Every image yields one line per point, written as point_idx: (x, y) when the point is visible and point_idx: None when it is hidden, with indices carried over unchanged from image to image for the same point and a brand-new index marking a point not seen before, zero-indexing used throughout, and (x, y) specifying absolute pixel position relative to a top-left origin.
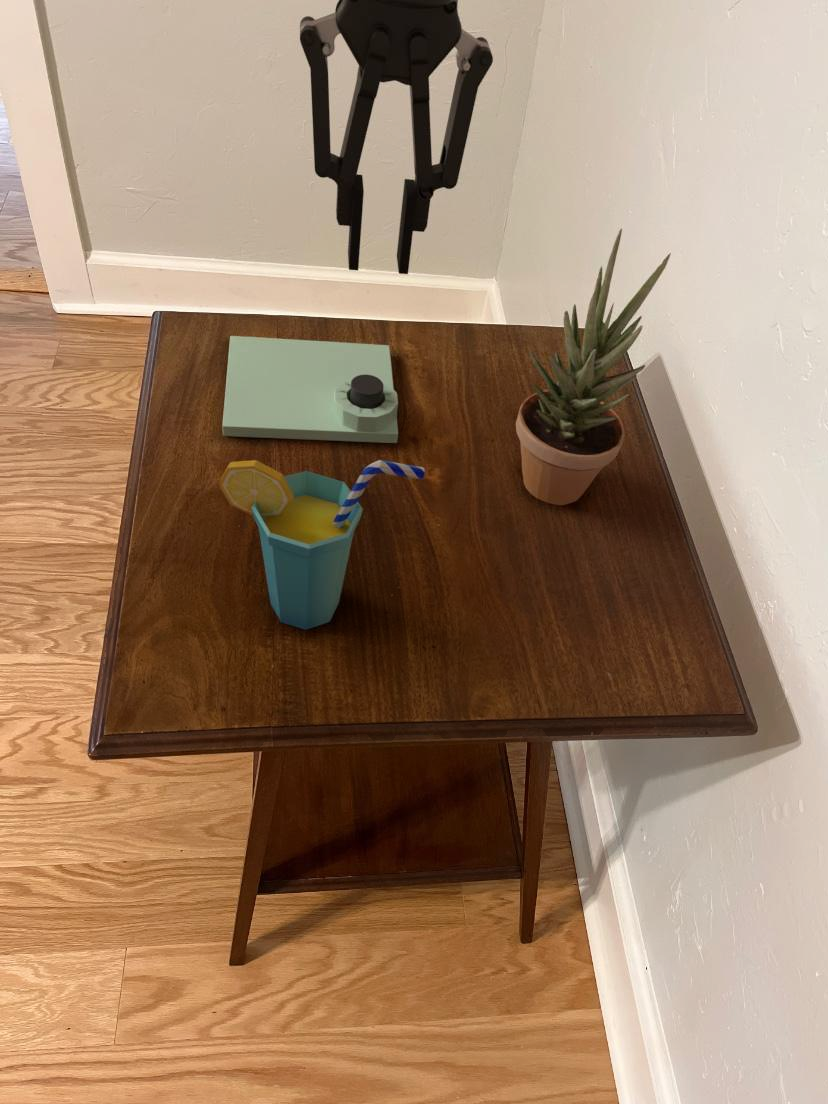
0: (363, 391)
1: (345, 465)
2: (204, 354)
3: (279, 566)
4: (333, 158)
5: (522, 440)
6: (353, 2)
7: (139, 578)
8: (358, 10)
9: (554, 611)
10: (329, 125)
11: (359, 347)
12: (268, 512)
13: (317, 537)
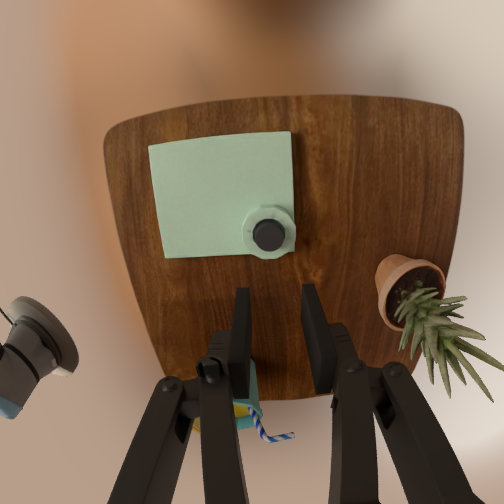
0: (266, 248)
1: (255, 273)
2: (135, 162)
3: None
4: (192, 409)
5: (379, 309)
6: None
7: (160, 352)
8: None
9: (360, 355)
10: (178, 473)
11: (262, 139)
12: None
13: (240, 410)
